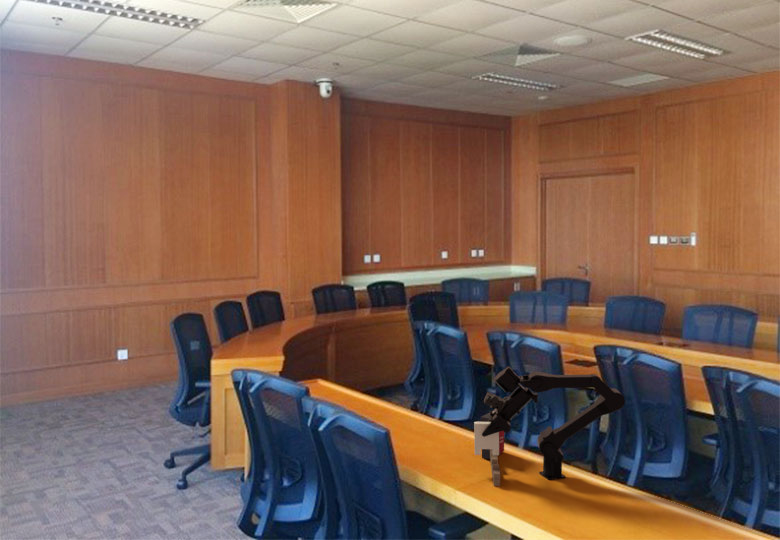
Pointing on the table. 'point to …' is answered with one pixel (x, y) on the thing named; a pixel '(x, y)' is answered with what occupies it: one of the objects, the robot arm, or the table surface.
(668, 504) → the table surface
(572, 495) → the table surface
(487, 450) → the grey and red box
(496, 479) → the slotted beam
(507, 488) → the table surface
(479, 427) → the notched plate
